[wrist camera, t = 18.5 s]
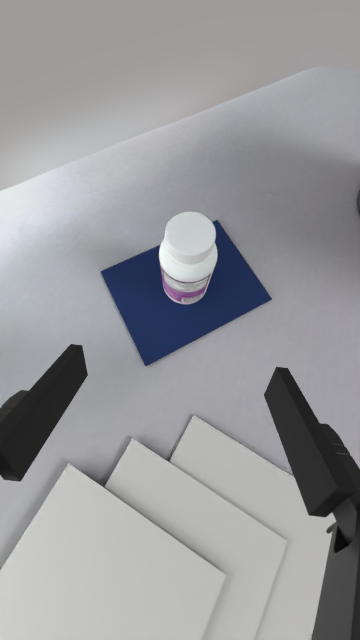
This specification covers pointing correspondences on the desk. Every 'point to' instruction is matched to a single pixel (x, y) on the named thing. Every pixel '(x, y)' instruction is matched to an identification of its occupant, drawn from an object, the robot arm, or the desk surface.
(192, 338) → the cloth
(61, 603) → the paper stack
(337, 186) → the desk surface
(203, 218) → the pill bottle
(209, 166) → the desk surface
